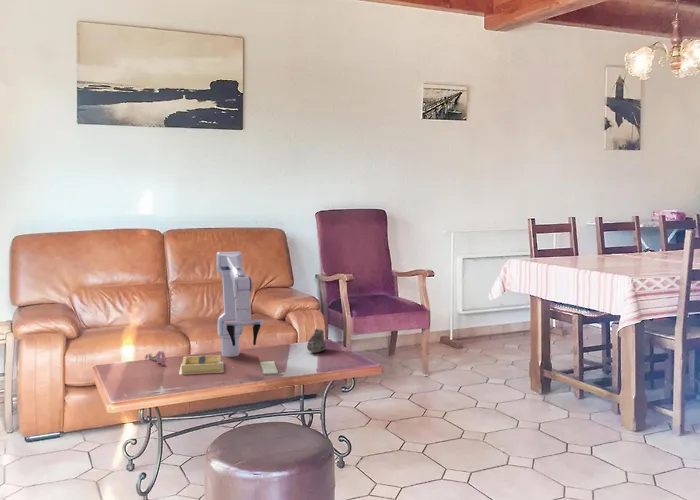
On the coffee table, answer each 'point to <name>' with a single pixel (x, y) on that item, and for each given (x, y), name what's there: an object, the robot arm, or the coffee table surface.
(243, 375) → the coffee table surface
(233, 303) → the robot arm
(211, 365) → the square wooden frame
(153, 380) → the coffee table surface
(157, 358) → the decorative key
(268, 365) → the mat
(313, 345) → the mineral rock
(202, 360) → the post stand
